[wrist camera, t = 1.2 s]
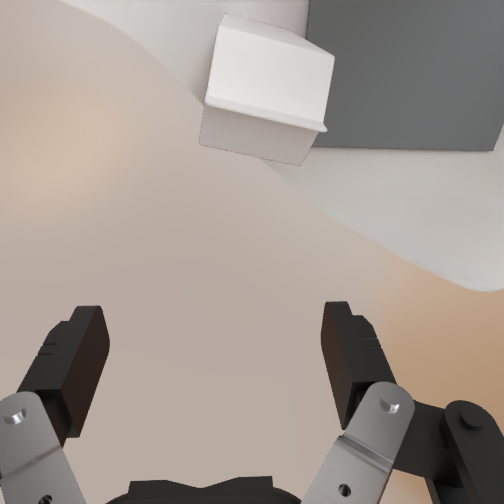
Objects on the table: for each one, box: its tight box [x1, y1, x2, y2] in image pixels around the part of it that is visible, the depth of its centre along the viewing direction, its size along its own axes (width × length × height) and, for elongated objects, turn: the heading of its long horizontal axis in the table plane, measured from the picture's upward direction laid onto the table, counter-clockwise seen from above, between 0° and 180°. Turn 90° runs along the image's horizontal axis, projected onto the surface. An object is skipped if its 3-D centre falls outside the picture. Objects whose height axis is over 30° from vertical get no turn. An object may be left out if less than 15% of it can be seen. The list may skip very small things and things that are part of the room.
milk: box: [199, 13, 335, 166], centre depth 27 cm, size 6×6×22 cm
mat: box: [306, 0, 504, 151], centre depth 37 cm, size 16×21×1 cm
